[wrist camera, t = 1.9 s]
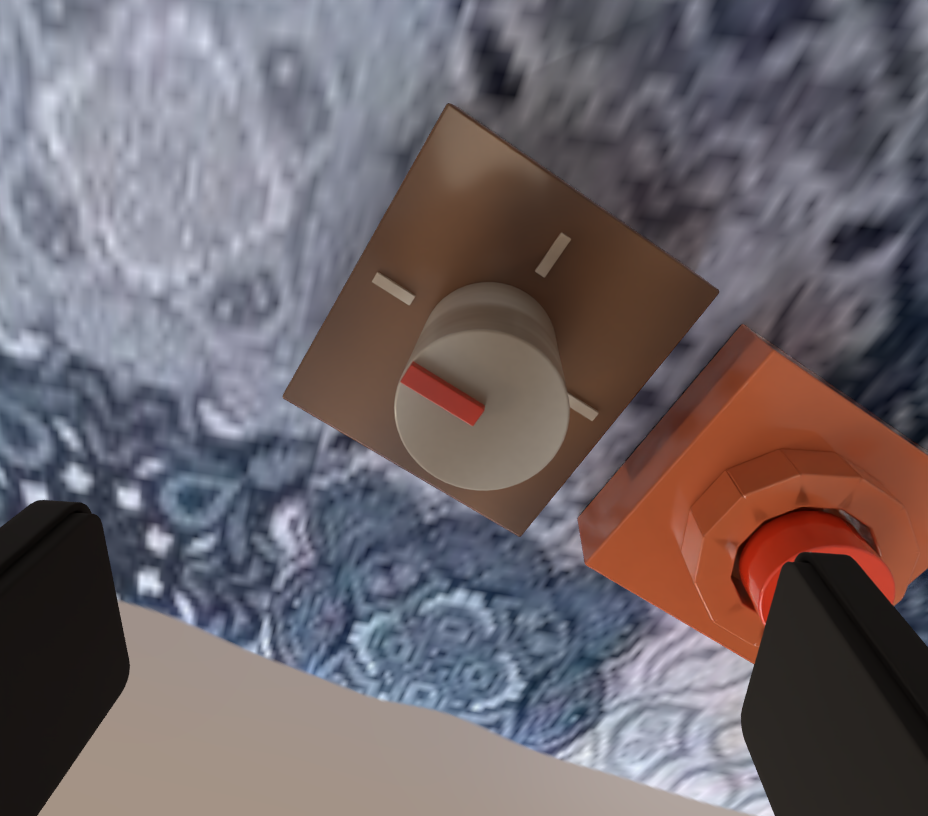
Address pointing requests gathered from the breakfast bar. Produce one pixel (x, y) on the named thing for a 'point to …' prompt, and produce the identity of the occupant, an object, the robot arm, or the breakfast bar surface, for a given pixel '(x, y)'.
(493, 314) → the dial
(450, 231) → the base
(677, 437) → the button base
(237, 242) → the breakfast bar surface
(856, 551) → the red button
